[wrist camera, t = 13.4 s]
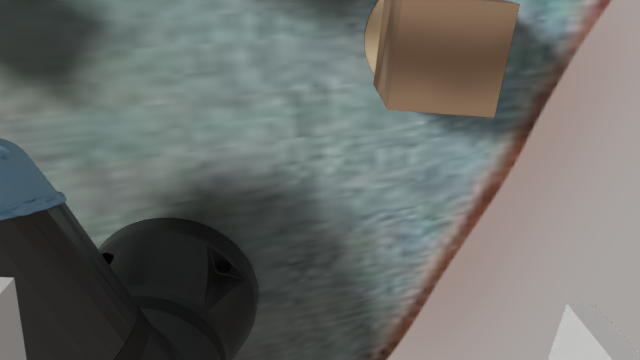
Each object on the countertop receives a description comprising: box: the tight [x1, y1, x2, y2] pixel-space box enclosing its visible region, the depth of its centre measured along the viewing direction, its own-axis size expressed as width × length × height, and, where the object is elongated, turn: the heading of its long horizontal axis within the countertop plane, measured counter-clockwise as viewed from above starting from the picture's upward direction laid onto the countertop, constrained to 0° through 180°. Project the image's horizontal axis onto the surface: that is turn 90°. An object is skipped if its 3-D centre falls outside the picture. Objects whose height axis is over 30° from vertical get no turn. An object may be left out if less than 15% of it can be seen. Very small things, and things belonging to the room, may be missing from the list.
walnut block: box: [374, 0, 520, 118], centre depth 35 cm, size 7×7×7 cm
